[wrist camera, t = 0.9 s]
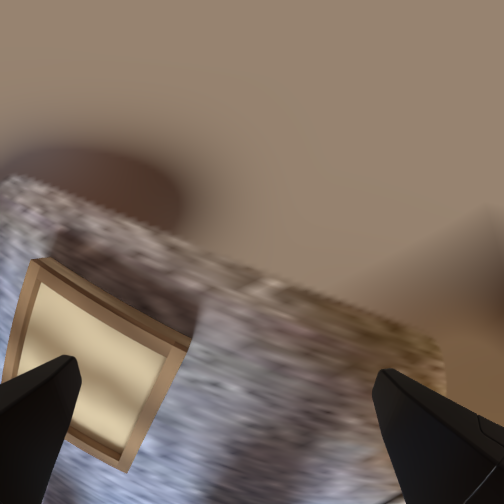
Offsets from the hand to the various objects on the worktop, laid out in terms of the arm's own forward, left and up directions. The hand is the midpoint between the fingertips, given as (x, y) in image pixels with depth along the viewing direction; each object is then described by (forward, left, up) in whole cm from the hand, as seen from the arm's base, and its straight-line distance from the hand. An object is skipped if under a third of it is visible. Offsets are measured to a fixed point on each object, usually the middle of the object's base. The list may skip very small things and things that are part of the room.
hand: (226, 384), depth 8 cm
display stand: (-11, +7, -15) cm, 19 cm away
